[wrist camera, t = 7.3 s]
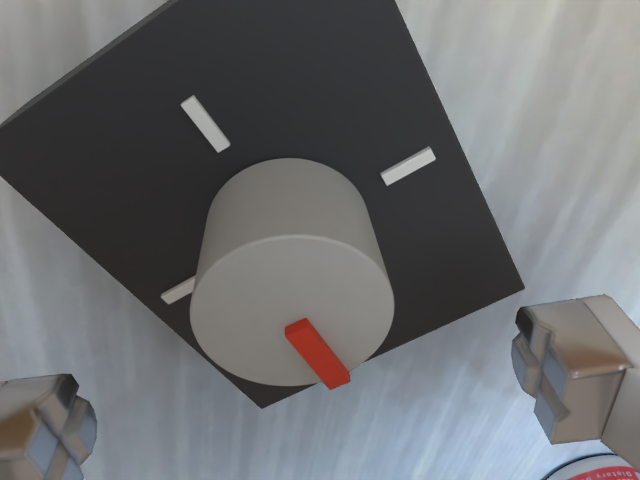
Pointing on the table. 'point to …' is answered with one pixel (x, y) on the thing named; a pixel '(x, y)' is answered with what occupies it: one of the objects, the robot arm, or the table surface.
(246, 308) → the knob
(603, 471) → the pill bottle
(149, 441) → the table surface
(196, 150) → the black dial control box
